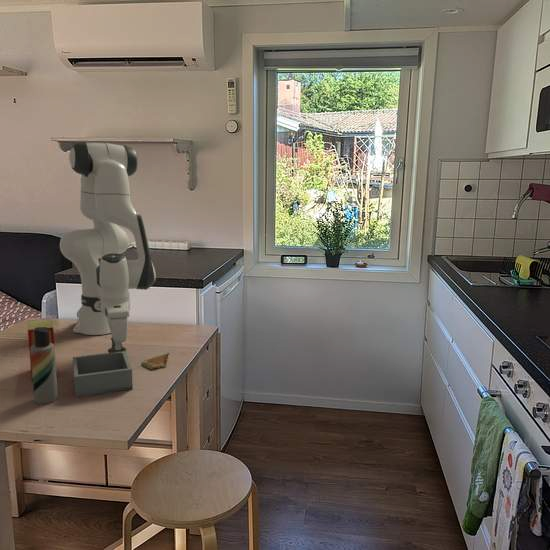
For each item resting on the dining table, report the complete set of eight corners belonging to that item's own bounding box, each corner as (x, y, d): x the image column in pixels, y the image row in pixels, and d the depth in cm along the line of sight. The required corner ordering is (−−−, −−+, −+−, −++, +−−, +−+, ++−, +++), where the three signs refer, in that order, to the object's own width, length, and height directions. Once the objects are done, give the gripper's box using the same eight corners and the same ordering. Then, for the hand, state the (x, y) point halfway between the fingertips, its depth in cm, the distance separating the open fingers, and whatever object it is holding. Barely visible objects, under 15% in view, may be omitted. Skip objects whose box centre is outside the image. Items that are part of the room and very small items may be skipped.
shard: (168, 356, 163) (168, 351, 163) (183, 363, 158) (182, 358, 158) (140, 365, 155) (140, 360, 155) (154, 372, 150) (154, 367, 150)
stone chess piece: (106, 358, 159) (105, 323, 157) (125, 355, 162) (123, 321, 159) (109, 364, 154) (108, 328, 152) (128, 361, 157) (127, 326, 154)
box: (73, 376, 145) (72, 357, 144) (125, 369, 151) (125, 351, 150) (75, 397, 131) (74, 376, 130) (132, 389, 137) (132, 369, 136)
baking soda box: (32, 369, 149) (28, 319, 145) (55, 366, 151) (52, 317, 148) (31, 381, 140) (27, 329, 137) (56, 378, 143) (53, 326, 140)
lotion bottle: (39, 394, 132) (34, 324, 128) (61, 394, 133) (56, 324, 129) (30, 404, 127) (24, 331, 123) (53, 404, 127) (48, 331, 123)
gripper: (102, 298, 162) (104, 337, 165) (107, 314, 144) (109, 358, 147) (121, 296, 165) (123, 335, 167) (130, 313, 146) (131, 356, 149)
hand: (117, 346), depth 157 cm, fingers closed on stone chess piece, 3 cm apart
